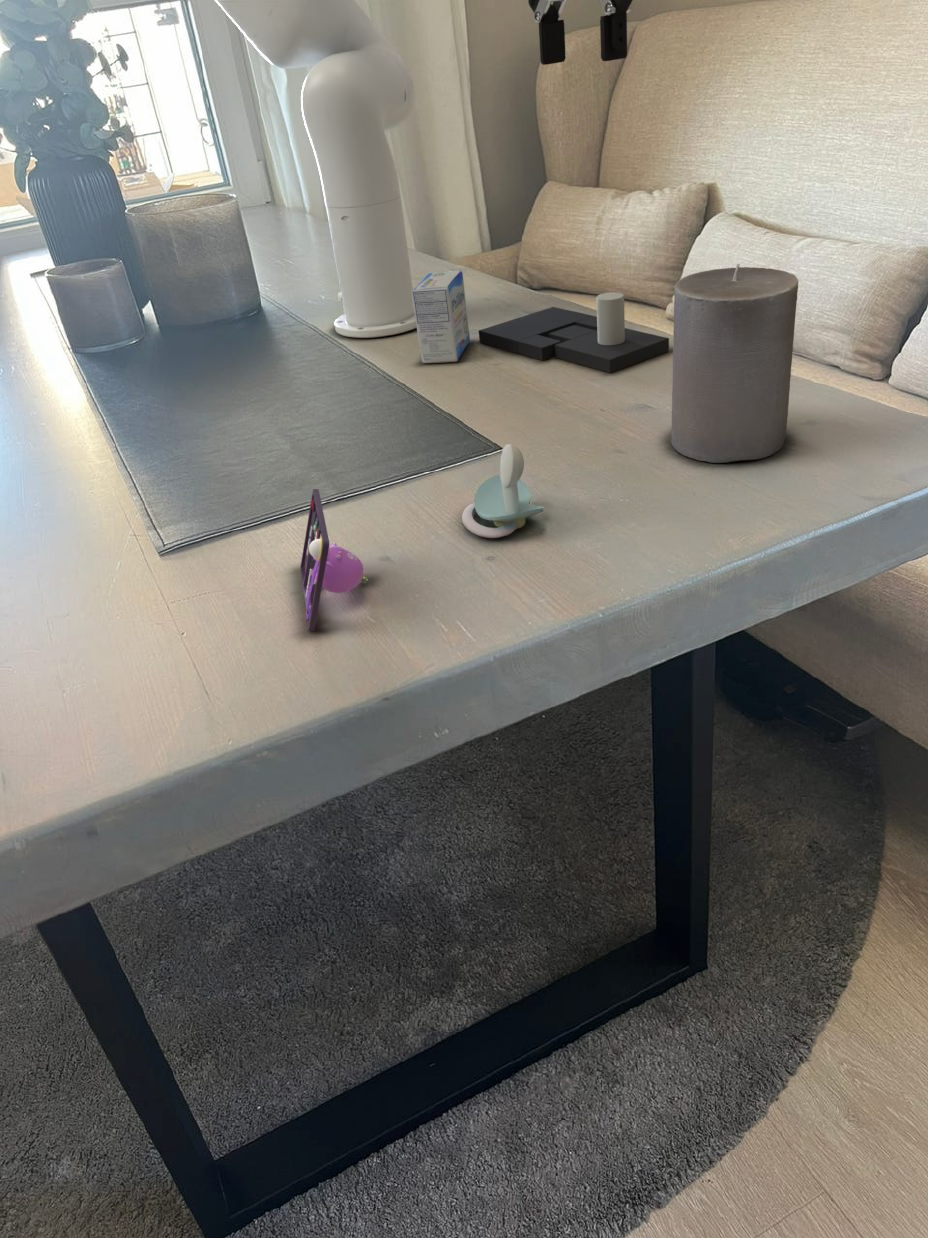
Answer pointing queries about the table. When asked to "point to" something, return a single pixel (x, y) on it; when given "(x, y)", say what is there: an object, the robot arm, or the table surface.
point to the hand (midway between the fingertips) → (582, 61)
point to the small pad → (606, 354)
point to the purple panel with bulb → (325, 563)
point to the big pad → (534, 332)
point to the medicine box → (441, 317)
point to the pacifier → (502, 499)
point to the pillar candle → (732, 362)
